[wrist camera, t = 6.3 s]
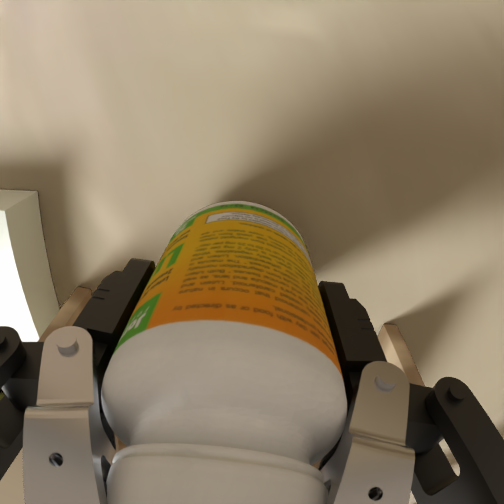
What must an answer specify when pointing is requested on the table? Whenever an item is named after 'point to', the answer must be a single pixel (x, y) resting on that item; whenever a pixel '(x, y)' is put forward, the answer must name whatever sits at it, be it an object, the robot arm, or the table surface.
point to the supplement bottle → (226, 370)
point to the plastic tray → (24, 267)
